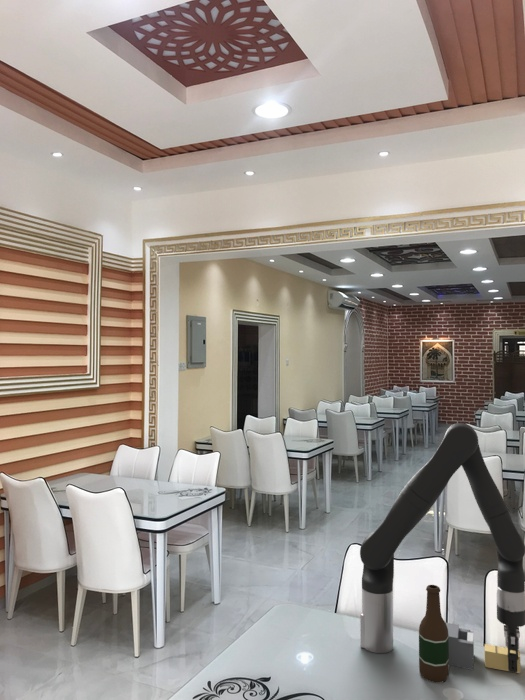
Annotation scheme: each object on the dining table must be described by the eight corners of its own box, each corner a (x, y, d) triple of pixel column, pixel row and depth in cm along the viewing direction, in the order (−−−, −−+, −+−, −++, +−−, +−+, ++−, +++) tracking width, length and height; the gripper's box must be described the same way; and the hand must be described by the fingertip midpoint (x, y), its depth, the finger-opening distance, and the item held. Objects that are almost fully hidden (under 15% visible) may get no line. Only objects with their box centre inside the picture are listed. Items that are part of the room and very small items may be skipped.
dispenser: (428, 661, 156) (428, 632, 157) (430, 646, 164) (430, 620, 164) (473, 669, 152) (473, 640, 152) (473, 654, 160) (473, 627, 160)
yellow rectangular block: (485, 666, 153) (484, 650, 153) (484, 659, 157) (484, 643, 157) (520, 673, 150) (520, 656, 150) (519, 665, 153) (519, 649, 153)
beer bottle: (450, 685, 145) (450, 593, 145) (420, 681, 146) (419, 591, 147) (447, 669, 152) (446, 582, 153) (418, 665, 154) (417, 579, 155)
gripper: (495, 592, 161) (496, 648, 160) (497, 612, 147) (498, 674, 147) (524, 596, 158) (524, 653, 158) (528, 617, 145) (529, 680, 144)
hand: (511, 663), depth 152 cm, fingers open, 7 cm apart
